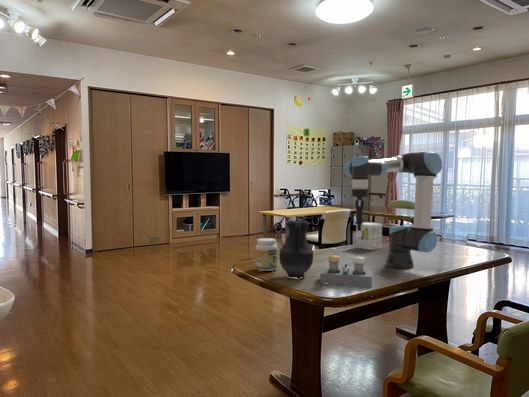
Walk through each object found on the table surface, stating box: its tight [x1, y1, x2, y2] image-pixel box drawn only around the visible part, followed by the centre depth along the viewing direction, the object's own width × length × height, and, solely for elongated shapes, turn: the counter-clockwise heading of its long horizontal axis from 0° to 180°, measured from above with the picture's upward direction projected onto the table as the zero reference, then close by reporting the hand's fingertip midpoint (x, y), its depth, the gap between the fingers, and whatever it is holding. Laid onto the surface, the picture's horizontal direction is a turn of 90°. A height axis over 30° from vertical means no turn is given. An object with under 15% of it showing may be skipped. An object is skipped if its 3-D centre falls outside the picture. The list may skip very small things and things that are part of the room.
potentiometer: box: [342, 263, 350, 274], centre depth 190 cm, size 3×3×4 cm
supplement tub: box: [255, 237, 278, 270], centre depth 218 cm, size 12×12×17 cm
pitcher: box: [278, 220, 314, 278], centre depth 200 cm, size 17×21×30 cm
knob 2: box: [352, 256, 366, 274], centre depth 191 cm, size 5×5×8 cm
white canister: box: [355, 221, 383, 251], centre depth 281 cm, size 13×13×18 cm
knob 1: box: [327, 254, 340, 273], centre depth 194 cm, size 5×5×8 cm
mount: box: [319, 267, 373, 288], centre depth 193 cm, size 24×12×5 cm, turn 75°
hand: (359, 235), depth 190 cm, fingers open, 7 cm apart
